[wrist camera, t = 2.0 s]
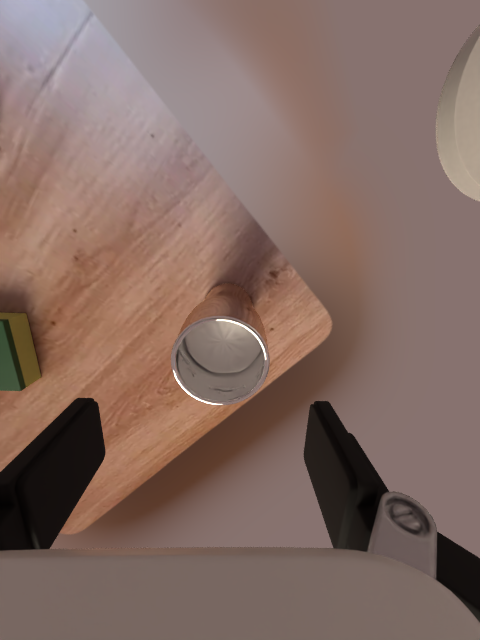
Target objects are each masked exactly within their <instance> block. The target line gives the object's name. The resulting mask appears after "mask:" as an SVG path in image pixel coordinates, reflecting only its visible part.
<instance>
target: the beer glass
mask: <svg viewBox="0 0 480 640" xmlns="http://www.w3.org/2000/svg"><path fill="white" fill-rule="evenodd" d="M269 364H270V358H269V352H268V344H267V337H266V333H265V328H264V325H263V323H262V321H261V318H260V316H259V315H258V313H257V312H256V310H255V309H254V308H253V306H252V301H251V298H250V296H249V294H248V293H247V292H246V291H245V290H244V289H243V288H242V287H240V286H238V285H235V284H231V283H224V284H220V285H217V286H215V287H214V288H212V289H211V290H210V291H209V292H208V294H207V295H206V297H205V300H204V301H203V302H201V303H200V304H198V305H197V306H196V307H195V308H194V309H193V310H192V311H191V313H190V314H189V315H188V317H187V318H186V320H185V322H184V323H183V325H182V327H181V330H180V332H179V334H178V337H177V339H176V341H175V343H174V345H173V348H172V353H171V367H172V371H173V374H174V376H175V379H176V380H177V382H178V384H179V385H180V386H181V387H182V389H183V390H184V391H185V392H187V393H188V394H189V395H190V396H192V397H193V398H195V399H197V400H199V401H202V402H204V403H208V404H213V405H229V404H234V403H238V402H240V401H243V400H245V399H247V398H249V397H250V396H252V395H253V394H254V393H255V392H256V391H257V390H258V389H259V388H260V387H261V386H262V384H263V383H264V381H265V379H266V377H267V374H268V371H269Z"/></svg>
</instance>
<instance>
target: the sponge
mask: <svg viewBox="0 0 480 640" xmlns="http://www.w3.org/2000/svg"><path fill="white" fill-rule="evenodd" d="M39 378H41V374H40V370H39V365H38V361H37V357H36V352H35V348H34V344H33V340H32V335H31V331H30V327H29V323H28V318H27V314H26V313H0V390H1V391H22V390H23V389H24V388H26V387H28V386H29V385H30V384H32V383H33V382H35V381H36V380H38V379H39Z"/></svg>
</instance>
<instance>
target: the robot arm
mask: <svg viewBox="0 0 480 640" xmlns="http://www.w3.org/2000/svg"><path fill="white" fill-rule="evenodd" d="M104 457H105V445H104V439H103V432H102V426H101V420H100V413H99V407H98V403H97V402H95V401H94V399H93V398H77V399H76V400H74V401H73V402H72V403H71V404H70V405H69V406H68V407H67V408H66V409H65V410H64V411H63V412H62V413H61V414H60V415H59V416H58V417H57V418H56V419H55V420H54V421H53V422H52V423H51V424H50V425H49V426H48V427H47V428H46V429H45V430H43V431H42V432H41V433H40V434H39V435H38V436H37V437H36V438H35V439H34V440H33V441H32V442H31V443H30V444H29V445H28V446H27V447H26V448H25V449H24V450H23V451H22V452H21V453H20V454H19V455H18V456H17V457H16V458H15V459H14V460H12V461H11V462H10V463H9V464H8V465H7V466H6V467H5V468H4V469H3V470H2V471H1V472H0V640H480V558H478V557H477V556H475V555H474V554H472V553H470V552H469V551H467V550H465V549H464V548H463V547H461V546H459V545H458V544H456V543H454V542H453V541H451V540H450V539H448V538H447V537H445V536H443V535H442V534H440V533H439V532H437V528H436V524H435V522H434V520H433V518H432V516H431V515H430V514H429V512H428V511H427V510H426V509H425V508H424V507H423V506H422V505H421V504H420V503H419V502H417V501H416V500H414V499H413V498H411V497H410V496H407V495H405V494H402V493H399V492H389V491H388V489H387V487H386V486H385V484H384V483H383V481H382V479H381V478H380V476H379V475H378V473H377V472H376V470H375V468H374V467H373V465H372V464H371V462H370V461H369V459H368V458H367V456H366V454H365V453H364V451H363V450H362V448H361V447H360V445H359V443H358V442H357V440H356V439H355V437H354V436H353V435H352V434H351V433H348V432H347V430H346V429H345V427H344V425H343V424H342V422H341V421H340V419H339V417H338V416H337V414H336V413H335V411H334V409H333V408H332V406H331V404H330V403H329V402H328V401H315V402H314V404H311V405H310V410H309V418H308V425H307V432H306V441H305V448H304V460H305V464H306V467H307V470H308V473H309V476H310V479H311V482H312V485H313V488H314V491H315V494H316V497H317V500H318V503H319V506H320V509H321V512H322V515H323V518H324V521H325V524H326V527H327V530H328V533H329V536H330V539H331V542H332V545H333V548H294V547H207V548H206V547H205V548H203V547H200V548H199V547H197V548H93V549H92V548H90V549H49V548H50V547H51V545H52V544H53V542H54V540H55V539H56V537H57V536H58V534H59V532H60V531H61V529H62V527H63V526H64V524H65V522H66V521H67V519H68V517H69V516H70V514H71V513H72V511H73V509H74V508H75V506H76V504H77V503H78V501H79V499H80V498H81V496H82V494H83V493H84V491H85V490H86V488H87V486H88V485H89V483H90V481H91V480H92V478H93V476H94V475H95V473H96V471H97V470H98V468H99V467H100V465H101V463H102V462H103V460H104Z"/></svg>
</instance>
